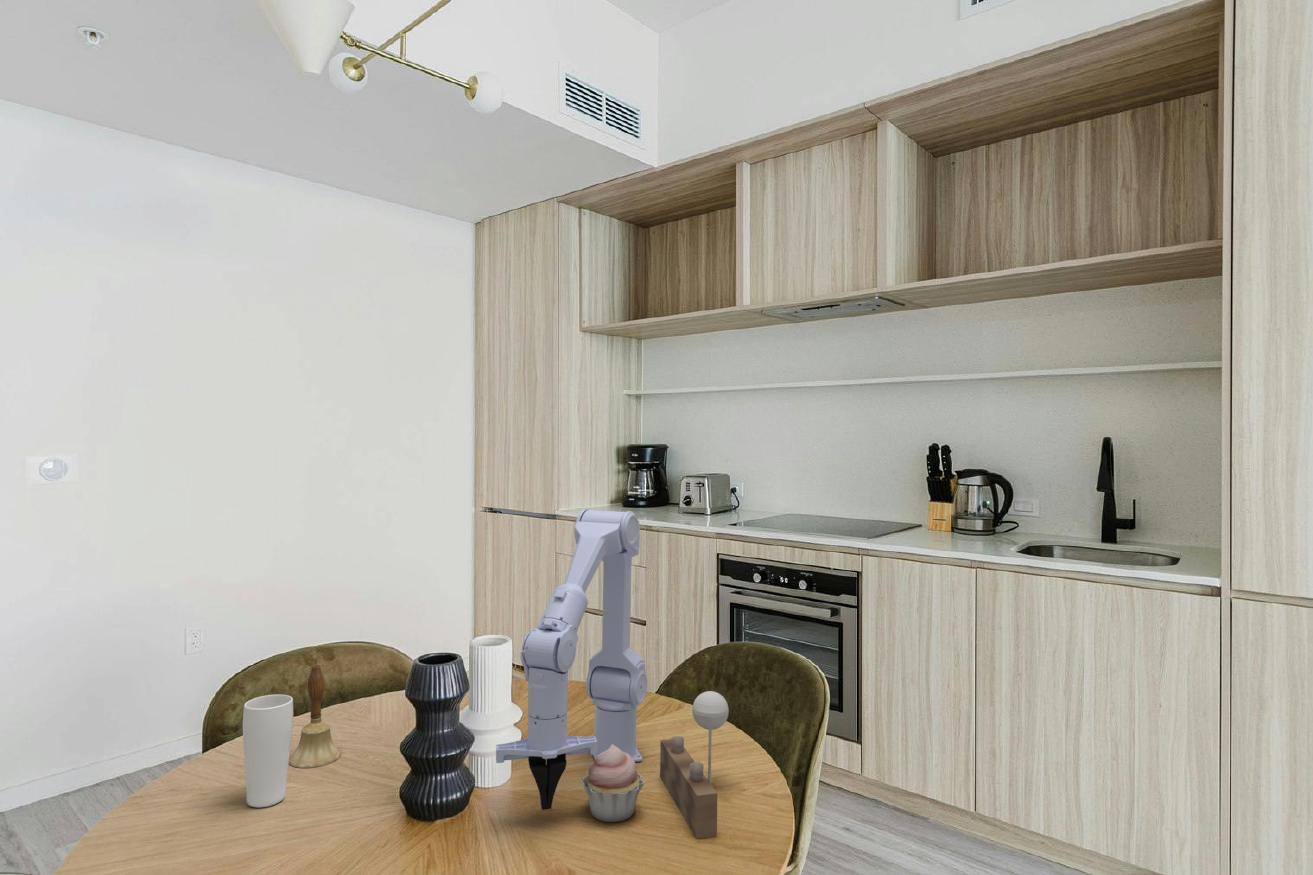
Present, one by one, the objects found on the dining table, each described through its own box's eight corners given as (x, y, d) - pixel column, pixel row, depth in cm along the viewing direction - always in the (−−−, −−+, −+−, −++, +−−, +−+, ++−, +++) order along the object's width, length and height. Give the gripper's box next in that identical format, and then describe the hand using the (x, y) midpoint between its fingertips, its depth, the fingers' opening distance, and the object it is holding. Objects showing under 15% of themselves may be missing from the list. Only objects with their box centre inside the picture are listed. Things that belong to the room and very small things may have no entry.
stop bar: (659, 776, 121) (660, 727, 121) (677, 774, 122) (678, 726, 122) (696, 838, 102) (697, 781, 102) (716, 836, 102) (717, 778, 103)
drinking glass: (301, 794, 113) (303, 697, 113) (264, 815, 106) (267, 711, 107) (267, 787, 115) (270, 691, 115) (229, 807, 109) (232, 705, 109)
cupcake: (629, 793, 115) (630, 729, 115) (653, 821, 106) (654, 751, 107) (572, 804, 111) (573, 738, 111) (592, 833, 103) (593, 762, 103)
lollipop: (725, 796, 114) (726, 699, 115) (688, 792, 116) (689, 696, 116) (729, 778, 120) (730, 687, 121) (694, 775, 122) (695, 684, 122)
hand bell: (333, 767, 123) (335, 671, 123) (281, 769, 122) (283, 673, 122) (346, 747, 131) (348, 658, 131) (297, 749, 130) (299, 659, 130)
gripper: (497, 726, 101) (496, 825, 101) (601, 718, 105) (599, 814, 104) (496, 708, 108) (494, 801, 108) (593, 701, 111) (591, 791, 111)
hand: (546, 806), depth 106 cm, fingers closed
